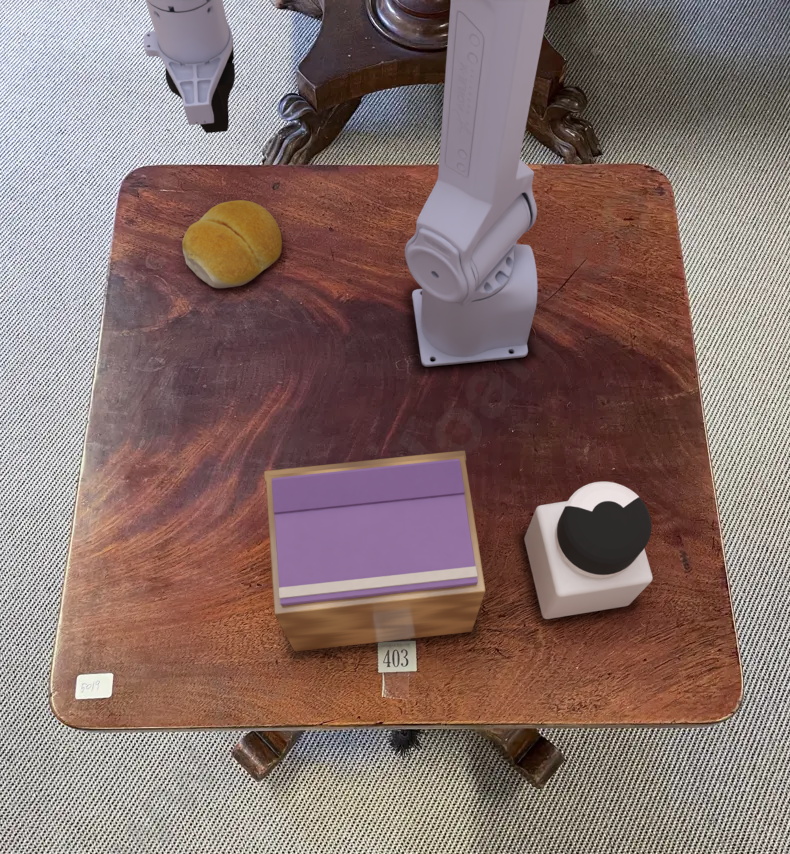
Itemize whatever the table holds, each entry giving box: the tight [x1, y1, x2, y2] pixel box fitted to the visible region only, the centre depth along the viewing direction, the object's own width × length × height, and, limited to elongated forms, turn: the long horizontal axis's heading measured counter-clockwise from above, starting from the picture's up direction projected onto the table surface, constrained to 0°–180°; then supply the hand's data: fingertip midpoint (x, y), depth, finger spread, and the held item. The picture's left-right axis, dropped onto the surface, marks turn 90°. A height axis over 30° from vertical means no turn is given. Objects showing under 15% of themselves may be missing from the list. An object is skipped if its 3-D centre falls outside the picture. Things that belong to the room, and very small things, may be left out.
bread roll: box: [181, 199, 283, 289], centre depth 79 cm, size 8×9×4 cm
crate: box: [263, 450, 486, 652], centre depth 64 cm, size 14×10×12 cm
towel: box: [272, 459, 478, 606], centre depth 58 cm, size 13×9×1 cm
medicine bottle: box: [524, 481, 654, 620], centre depth 64 cm, size 7×7×12 cm
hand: (216, 126), depth 77 cm, fingers closed
